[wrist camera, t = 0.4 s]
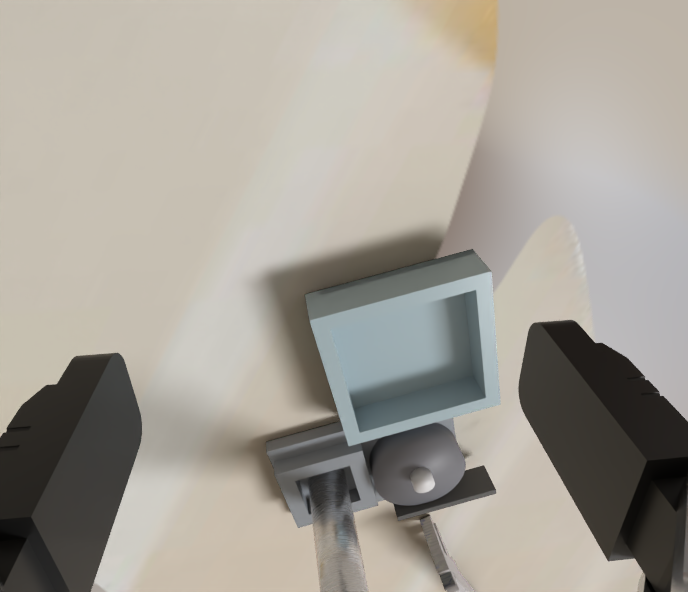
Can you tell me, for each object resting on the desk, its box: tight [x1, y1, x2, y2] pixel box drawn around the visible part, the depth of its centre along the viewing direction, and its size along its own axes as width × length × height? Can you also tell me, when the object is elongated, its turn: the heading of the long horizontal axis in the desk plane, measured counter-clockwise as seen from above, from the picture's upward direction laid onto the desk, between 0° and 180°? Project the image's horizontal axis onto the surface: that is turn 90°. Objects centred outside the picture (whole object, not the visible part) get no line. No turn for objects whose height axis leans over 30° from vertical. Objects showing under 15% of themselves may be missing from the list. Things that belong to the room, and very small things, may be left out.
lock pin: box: [308, 468, 369, 592], centre depth 34 cm, size 4×4×13 cm
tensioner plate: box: [266, 418, 496, 528], centre depth 39 cm, size 9×16×4 cm, turn 102°
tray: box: [305, 249, 501, 446], centre depth 34 cm, size 11×11×3 cm
